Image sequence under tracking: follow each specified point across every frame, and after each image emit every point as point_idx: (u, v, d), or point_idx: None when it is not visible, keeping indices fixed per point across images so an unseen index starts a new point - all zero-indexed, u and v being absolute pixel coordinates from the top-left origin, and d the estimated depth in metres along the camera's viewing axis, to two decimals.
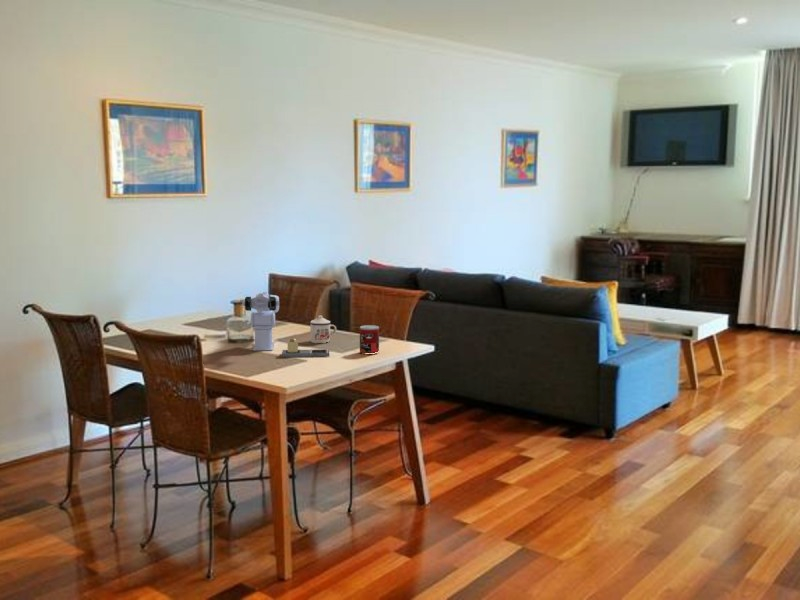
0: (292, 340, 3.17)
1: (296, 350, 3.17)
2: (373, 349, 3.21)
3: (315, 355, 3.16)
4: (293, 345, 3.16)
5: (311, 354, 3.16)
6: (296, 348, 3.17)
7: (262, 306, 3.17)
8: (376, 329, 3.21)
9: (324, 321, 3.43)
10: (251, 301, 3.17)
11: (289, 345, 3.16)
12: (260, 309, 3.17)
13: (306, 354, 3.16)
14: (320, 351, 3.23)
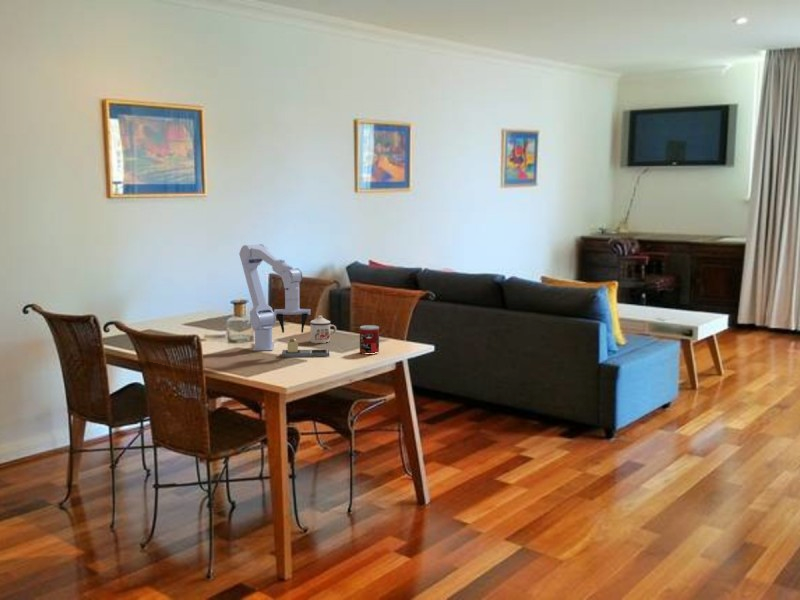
0: (292, 340, 3.17)
1: (296, 350, 3.17)
2: (373, 349, 3.21)
3: (315, 355, 3.16)
4: (293, 345, 3.16)
5: (311, 354, 3.16)
6: (296, 348, 3.17)
7: None
8: (376, 329, 3.21)
9: (324, 321, 3.43)
10: (283, 312, 3.15)
11: (289, 345, 3.16)
12: None
13: (306, 354, 3.16)
14: (320, 351, 3.23)
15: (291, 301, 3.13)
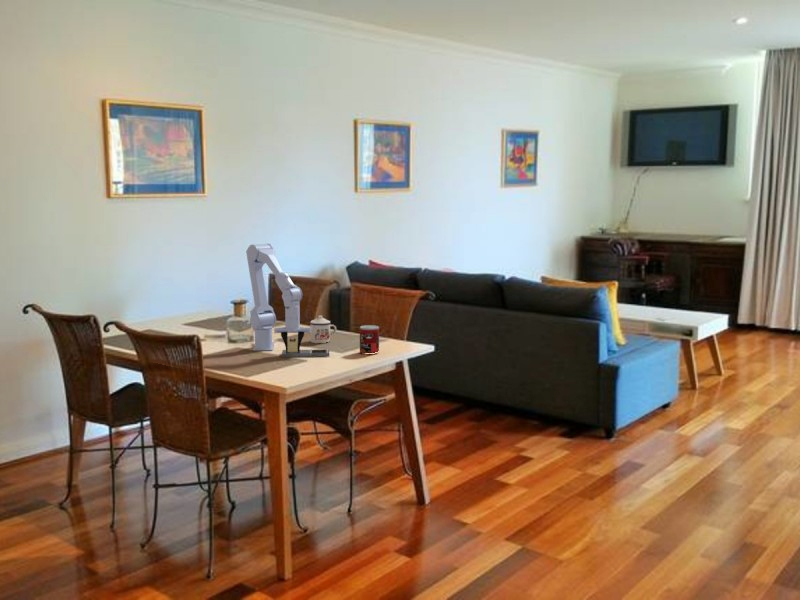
0: (292, 340, 3.17)
1: (296, 350, 3.17)
2: (373, 349, 3.21)
3: (315, 355, 3.16)
4: (293, 345, 3.16)
5: (311, 354, 3.16)
6: (296, 348, 3.17)
7: None
8: (376, 329, 3.21)
9: (324, 321, 3.43)
10: None
11: (289, 345, 3.16)
12: None
13: (306, 354, 3.16)
14: (320, 351, 3.23)
15: (291, 320, 3.14)
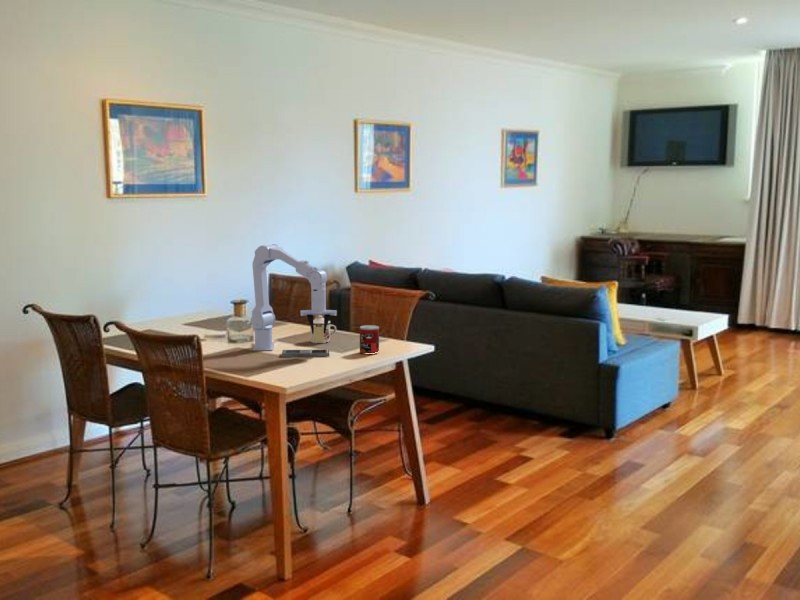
0: (318, 325, 3.17)
1: (322, 335, 3.17)
2: (373, 349, 3.21)
3: (315, 355, 3.16)
4: (319, 330, 3.16)
5: (311, 354, 3.16)
6: (322, 333, 3.17)
7: None
8: (376, 329, 3.21)
9: None
10: (309, 312, 3.16)
11: (315, 330, 3.16)
12: None
13: (306, 354, 3.16)
14: (320, 351, 3.23)
15: (317, 302, 3.14)
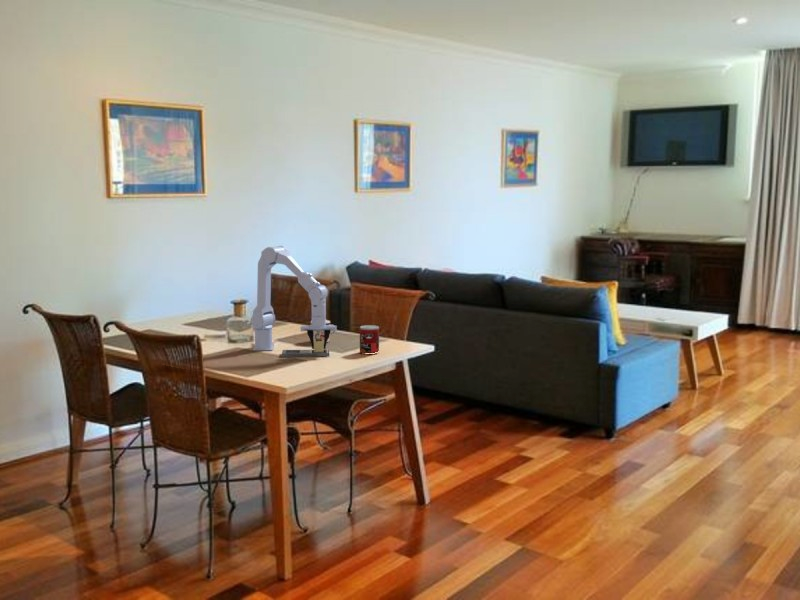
0: (318, 339, 3.18)
1: (322, 350, 3.18)
2: (373, 349, 3.21)
3: (315, 355, 3.16)
4: (319, 344, 3.17)
5: (311, 354, 3.16)
6: (322, 347, 3.17)
7: None
8: (376, 329, 3.21)
9: None
10: None
11: (315, 344, 3.17)
12: None
13: (306, 354, 3.16)
14: None
15: (318, 318, 3.15)
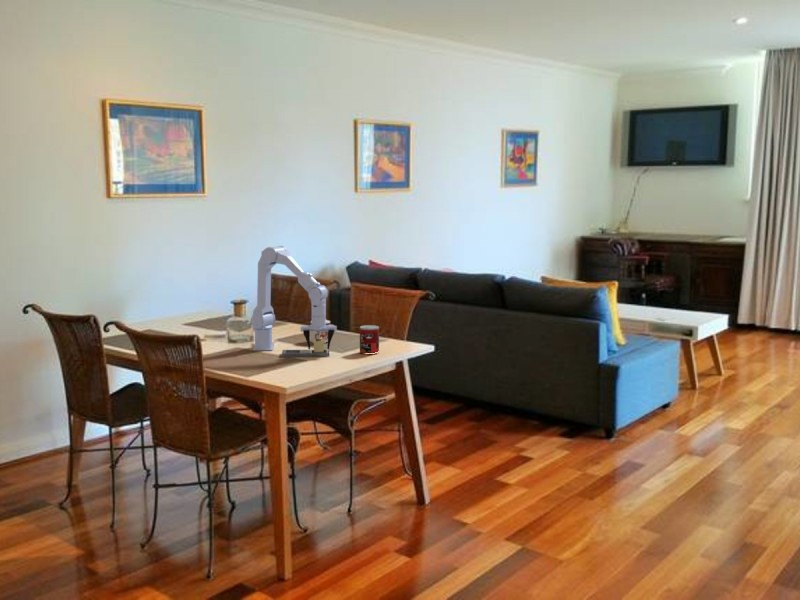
0: (318, 339, 3.18)
1: (322, 350, 3.18)
2: (373, 349, 3.21)
3: (315, 355, 3.16)
4: (319, 344, 3.17)
5: (311, 354, 3.16)
6: (322, 347, 3.17)
7: None
8: (376, 329, 3.21)
9: None
10: None
11: (315, 344, 3.17)
12: None
13: (306, 354, 3.16)
14: None
15: (318, 318, 3.15)
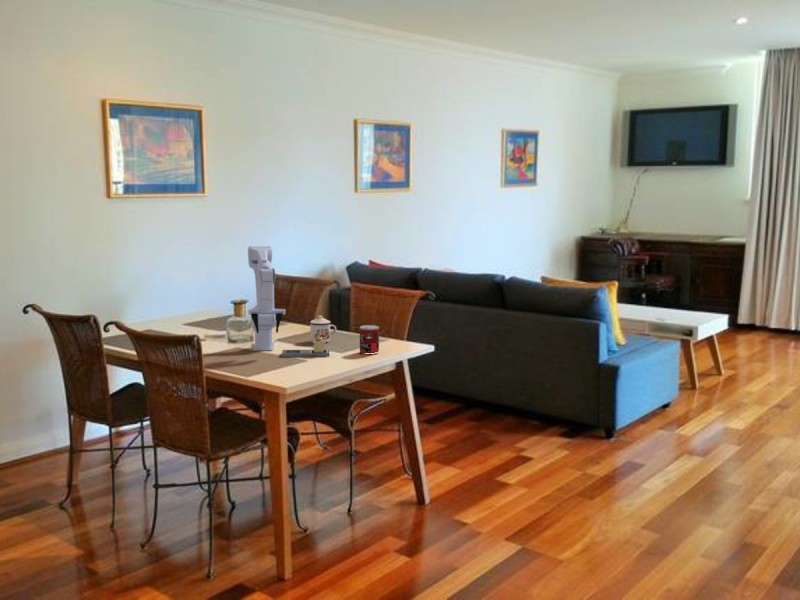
0: (318, 339, 3.18)
1: (322, 350, 3.18)
2: (373, 349, 3.21)
3: (315, 355, 3.16)
4: (319, 344, 3.17)
5: (311, 354, 3.16)
6: (322, 347, 3.17)
7: None
8: (376, 329, 3.21)
9: (324, 321, 3.43)
10: (257, 311, 3.12)
11: (315, 344, 3.17)
12: None
13: (306, 354, 3.16)
14: None
15: (265, 301, 3.10)
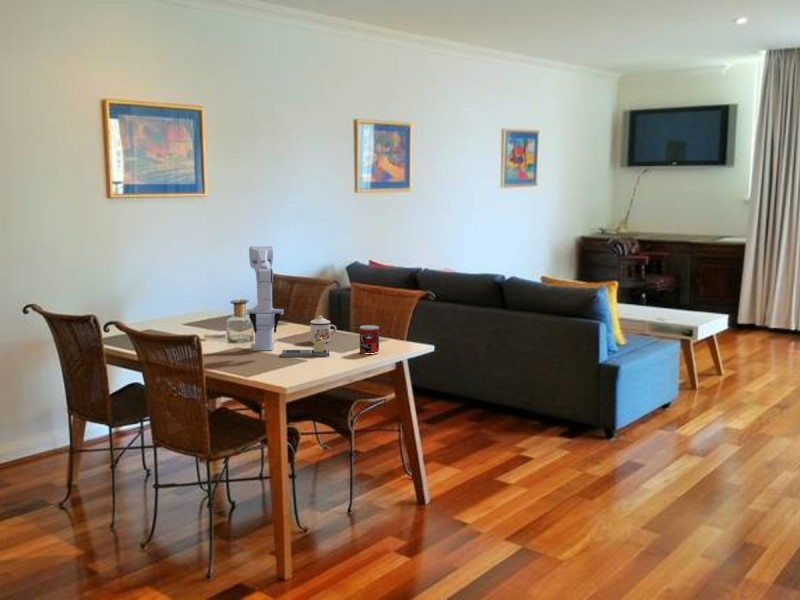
0: (318, 339, 3.18)
1: (322, 350, 3.18)
2: (373, 349, 3.21)
3: (315, 355, 3.16)
4: (319, 344, 3.17)
5: (311, 354, 3.16)
6: (322, 347, 3.17)
7: None
8: (376, 329, 3.21)
9: (324, 321, 3.43)
10: (255, 311, 3.12)
11: (315, 344, 3.17)
12: None
13: (306, 354, 3.16)
14: None
15: (263, 301, 3.10)
